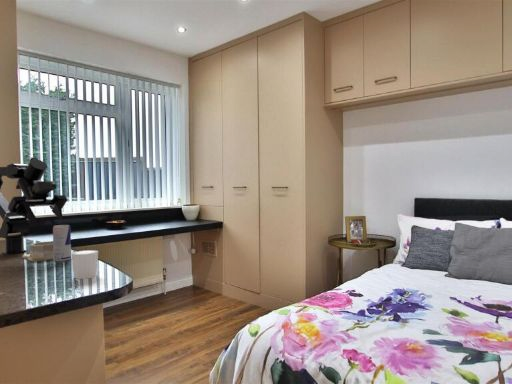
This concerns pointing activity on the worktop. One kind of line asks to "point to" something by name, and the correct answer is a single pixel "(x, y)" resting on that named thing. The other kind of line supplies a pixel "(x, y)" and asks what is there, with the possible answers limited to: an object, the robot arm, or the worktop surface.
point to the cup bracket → (40, 251)
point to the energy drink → (61, 242)
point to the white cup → (85, 264)
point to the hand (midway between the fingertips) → (49, 220)
